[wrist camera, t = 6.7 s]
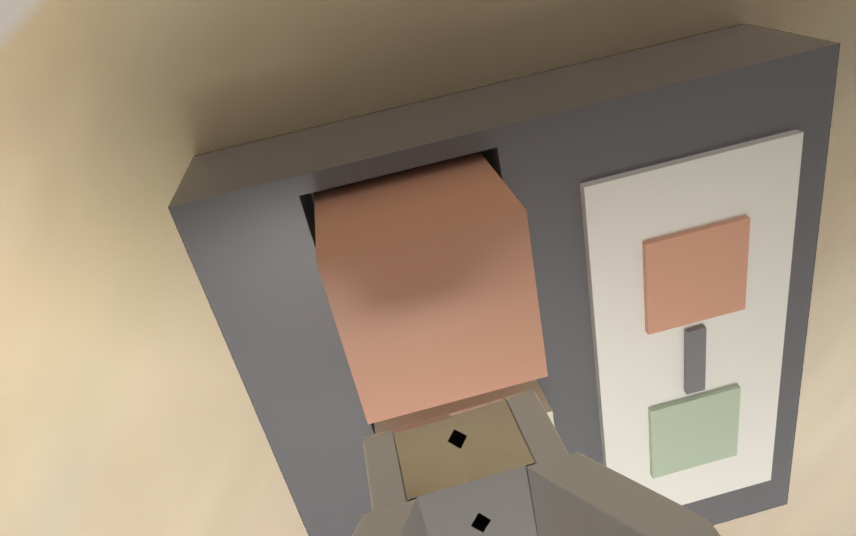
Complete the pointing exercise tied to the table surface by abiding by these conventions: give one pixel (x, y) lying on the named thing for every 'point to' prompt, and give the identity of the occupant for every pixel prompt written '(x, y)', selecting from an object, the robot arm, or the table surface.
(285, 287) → the keypad base
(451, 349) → the key terracotta
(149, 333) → the table surface
